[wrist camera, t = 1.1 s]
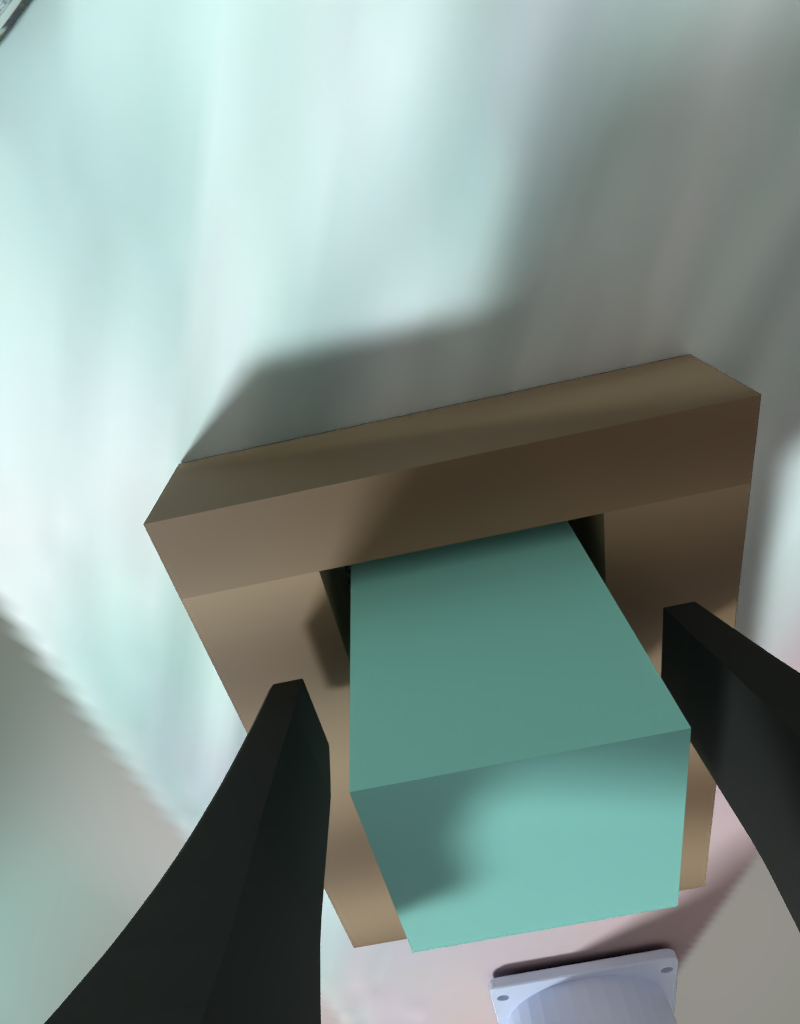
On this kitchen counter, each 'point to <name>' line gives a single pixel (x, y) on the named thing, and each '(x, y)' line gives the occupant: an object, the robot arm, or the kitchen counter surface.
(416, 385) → the kitchen counter surface
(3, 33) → the syrup box
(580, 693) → the teal block
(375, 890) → the pocket plate
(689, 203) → the kitchen counter surface
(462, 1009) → the kitchen counter surface
